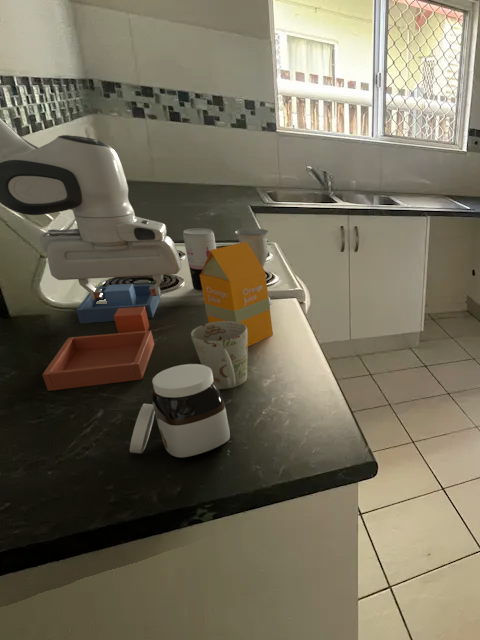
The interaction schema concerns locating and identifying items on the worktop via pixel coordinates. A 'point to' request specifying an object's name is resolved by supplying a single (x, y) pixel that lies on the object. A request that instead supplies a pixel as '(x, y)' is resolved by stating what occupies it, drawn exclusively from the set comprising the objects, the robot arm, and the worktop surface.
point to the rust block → (131, 319)
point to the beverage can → (198, 252)
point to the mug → (223, 351)
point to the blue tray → (103, 313)
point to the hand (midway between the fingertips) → (127, 296)
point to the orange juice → (237, 290)
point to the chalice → (255, 243)
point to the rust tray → (100, 360)
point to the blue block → (120, 295)
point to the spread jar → (184, 413)
